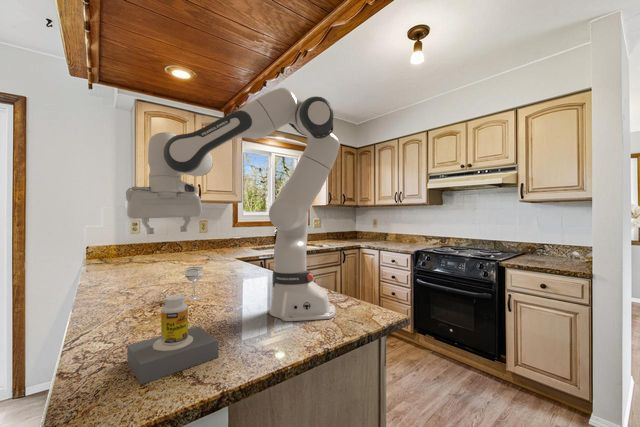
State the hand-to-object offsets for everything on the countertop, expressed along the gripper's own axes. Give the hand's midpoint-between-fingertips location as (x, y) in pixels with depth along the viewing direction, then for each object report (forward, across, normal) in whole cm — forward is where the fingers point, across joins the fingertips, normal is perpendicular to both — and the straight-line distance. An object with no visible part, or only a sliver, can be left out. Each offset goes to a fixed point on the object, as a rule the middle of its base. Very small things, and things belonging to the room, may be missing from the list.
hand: (167, 232), depth 90 cm
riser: (+29, -7, -23) cm, 37 cm away
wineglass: (+28, +16, +23) cm, 39 cm away
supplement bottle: (+25, -6, -23) cm, 34 cm away
